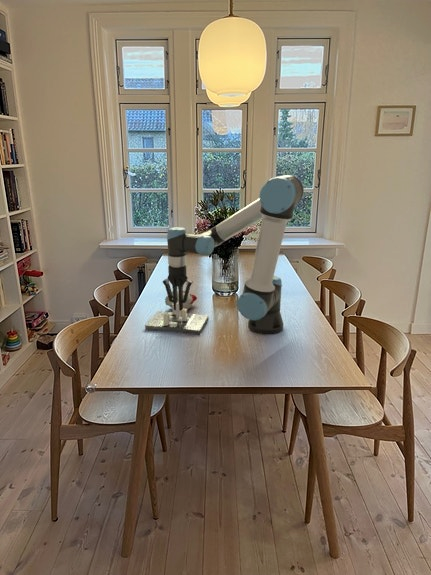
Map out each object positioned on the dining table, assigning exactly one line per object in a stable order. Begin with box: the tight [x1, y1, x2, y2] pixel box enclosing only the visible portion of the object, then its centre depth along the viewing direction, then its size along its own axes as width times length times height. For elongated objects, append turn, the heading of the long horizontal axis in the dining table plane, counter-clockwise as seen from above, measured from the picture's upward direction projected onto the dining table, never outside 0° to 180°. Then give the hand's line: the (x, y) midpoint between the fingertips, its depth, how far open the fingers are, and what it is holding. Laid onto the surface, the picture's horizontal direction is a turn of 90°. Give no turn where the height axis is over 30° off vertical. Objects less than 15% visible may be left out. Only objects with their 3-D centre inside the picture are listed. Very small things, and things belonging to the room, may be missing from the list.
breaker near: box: [163, 313, 170, 326], centre depth 169 cm, size 2×2×5 cm
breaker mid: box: [181, 309, 188, 321], centre depth 173 cm, size 2×2×5 cm
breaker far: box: [171, 303, 176, 315], centre depth 180 cm, size 2×2×5 cm
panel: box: [144, 310, 210, 336], centre depth 175 cm, size 24×16×2 cm, turn 78°
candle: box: [164, 290, 198, 311], centre depth 192 cm, size 9×11×15 cm
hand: (178, 316), depth 174 cm, fingers closed
